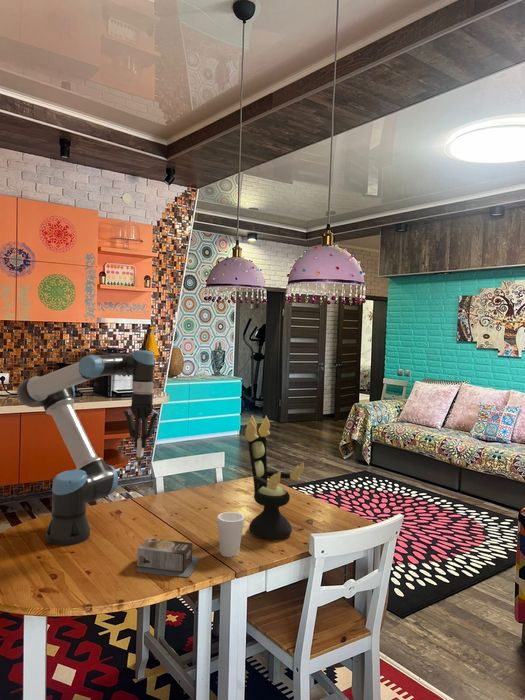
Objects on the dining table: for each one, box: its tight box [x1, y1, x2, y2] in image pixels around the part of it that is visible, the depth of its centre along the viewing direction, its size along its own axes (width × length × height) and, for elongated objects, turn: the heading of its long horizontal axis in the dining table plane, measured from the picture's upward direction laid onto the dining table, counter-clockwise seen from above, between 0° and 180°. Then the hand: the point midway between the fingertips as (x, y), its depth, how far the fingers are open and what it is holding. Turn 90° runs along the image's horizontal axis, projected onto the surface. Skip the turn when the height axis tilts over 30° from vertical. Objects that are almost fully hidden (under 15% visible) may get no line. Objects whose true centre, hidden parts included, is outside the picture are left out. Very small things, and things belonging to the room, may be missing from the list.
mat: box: [135, 555, 201, 578], centre depth 172 cm, size 18×15×1 cm
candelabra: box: [244, 414, 305, 541], centre depth 202 cm, size 19×22×45 cm
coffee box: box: [136, 537, 194, 572], centre depth 171 cm, size 9×6×16 cm
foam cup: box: [216, 511, 246, 558], centre depth 182 cm, size 10×9×13 cm
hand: (140, 456), depth 191 cm, fingers closed
